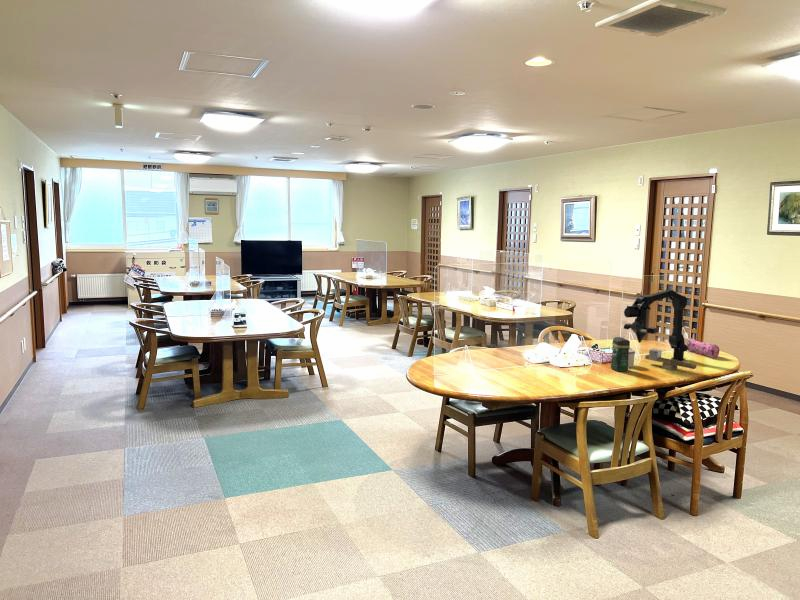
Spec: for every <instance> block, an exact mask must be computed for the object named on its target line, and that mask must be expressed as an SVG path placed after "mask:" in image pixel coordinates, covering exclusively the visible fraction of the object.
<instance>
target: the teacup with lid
mask: <svg viewBox="0 0 800 600" xmlns="http://www.w3.org/2000/svg"><path fill="white" fill-rule="evenodd" d="M635 353H636V350H635V349H633V348H631V347H629V355H628V368H632V367H634V366H635V365H634V363H635V355H636V354H635Z"/></svg>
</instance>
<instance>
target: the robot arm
mask: <svg viewBox="0 0 800 600" xmlns="http://www.w3.org/2000/svg"><path fill="white" fill-rule="evenodd" d="M667 298H669V300H670V301H671V305H672V307H673V309H674V312H673V326H672V327H673V328H672V333H671V334H670V335H668V341H667V342H668V343H669V346H670V349H673V355H672V356H673V357H670V359H671V360H676V361H681V362H684V361H685V360H686V358H685V356H684V354H685V352H687V351H688V347H687V346H686V344H687V343H685V337H684V335H683V325H684V324H683V323H684V322H683V321H684V310H685V308H686V307H687V305H688V297H686V296H685V295H681V294H680V293H678V292H676V291H675V290H673V289H669V288H668V289H665V290H662V291H661V290H660V291H659V292H655V293H651V294H641V295H638V296H637V297H636V298H635V300H634V301H633V302H632V304H631V305H626V308H625V309H624V311H623V315H624V317H625V318H635V319H634V322H632V323H630V322H629V323H624V325H623V329H624V330H631V331H632V332H634V333H635V336H636V338H637V341H638V343H639V344H640V343H642V341H643V339H644V337H645V336H646V334H650V335H651V334H652V335H653V334H658V333H659V328H658V327H654V326H651V327H648V325H647V321H648V310H649V311H650V310H652V308H651V307H650V305H652V304H653V303H654V302H658V301H660V300H664V299H667Z"/></svg>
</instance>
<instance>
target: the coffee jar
mask: <svg viewBox="0 0 800 600" xmlns="http://www.w3.org/2000/svg"><path fill="white" fill-rule="evenodd" d="M611 346H612V352H611V353H612V354H611V359H610V368H611V369H612V370H614V371H616V372H620V373H623V372H624V373H625V372H627V371H629V367H628V355H629V348H631V347H630V346H631V342H630V340H629V339H626V338H624V337H621V336H616V337H615V336H614V337H613V339H612V345H611Z"/></svg>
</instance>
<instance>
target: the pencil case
mask: <svg viewBox="0 0 800 600" xmlns="http://www.w3.org/2000/svg"><path fill="white" fill-rule="evenodd" d="M685 344H686V346H687V347H688V350H687V351H688V352H691V353H696V354H699V355H702V356H707V357H709V358H711V359H715V358H718V356H719V354H720V346H718V345H717V344H712V343H706V342H702V341H697V340H696V339H695V338H693V337H690V338H688V340H687V341H686V343H685Z"/></svg>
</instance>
